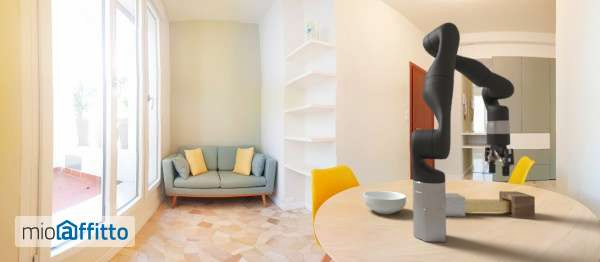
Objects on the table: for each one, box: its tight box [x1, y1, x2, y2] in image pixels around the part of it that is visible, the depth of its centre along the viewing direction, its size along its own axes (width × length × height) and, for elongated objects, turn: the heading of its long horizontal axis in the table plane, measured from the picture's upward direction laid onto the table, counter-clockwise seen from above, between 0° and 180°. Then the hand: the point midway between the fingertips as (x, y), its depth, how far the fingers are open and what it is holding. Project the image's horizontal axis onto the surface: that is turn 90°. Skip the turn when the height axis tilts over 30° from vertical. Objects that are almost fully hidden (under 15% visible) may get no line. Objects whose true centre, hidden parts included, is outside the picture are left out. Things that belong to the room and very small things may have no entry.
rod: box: [465, 198, 512, 214], centre depth 109 cm, size 4×24×4 cm, turn 85°
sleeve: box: [445, 192, 467, 218], centre depth 110 cm, size 7×15×7 cm, turn 85°
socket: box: [498, 190, 536, 219], centre depth 108 cm, size 9×7×8 cm
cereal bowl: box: [363, 190, 407, 215], centre depth 114 cm, size 17×17×7 cm
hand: (498, 174), depth 108 cm, fingers open, 8 cm apart
